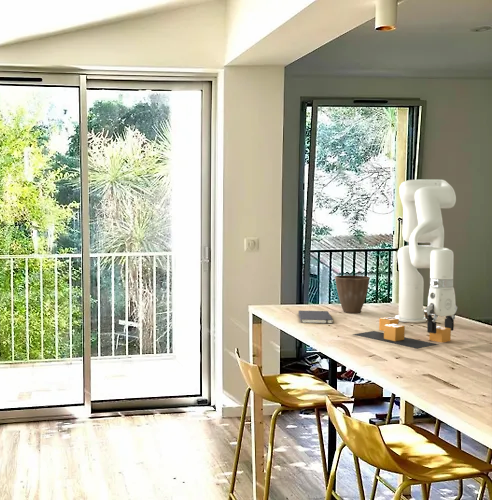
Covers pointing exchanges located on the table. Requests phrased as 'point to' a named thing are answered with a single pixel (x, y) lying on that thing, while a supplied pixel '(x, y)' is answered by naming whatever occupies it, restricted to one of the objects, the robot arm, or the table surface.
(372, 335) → the word mat
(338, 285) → the flower pot
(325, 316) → the notebook
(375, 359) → the table surface
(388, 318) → the letter T
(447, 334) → the letter L
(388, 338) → the letter I
